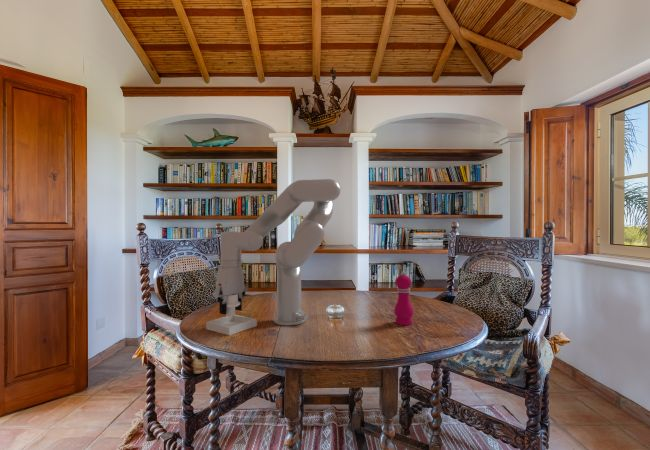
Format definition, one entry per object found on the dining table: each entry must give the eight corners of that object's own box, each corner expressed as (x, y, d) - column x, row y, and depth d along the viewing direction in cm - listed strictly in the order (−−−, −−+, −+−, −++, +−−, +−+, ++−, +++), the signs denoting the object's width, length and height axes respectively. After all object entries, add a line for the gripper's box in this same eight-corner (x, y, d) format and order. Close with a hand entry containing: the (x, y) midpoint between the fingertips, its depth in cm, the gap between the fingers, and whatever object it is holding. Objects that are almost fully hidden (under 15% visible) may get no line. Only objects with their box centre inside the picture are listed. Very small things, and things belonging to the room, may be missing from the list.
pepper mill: (415, 321, 133) (414, 270, 133) (411, 326, 126) (411, 272, 126) (396, 319, 136) (396, 269, 136) (392, 324, 129) (391, 272, 129)
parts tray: (256, 325, 129) (256, 319, 129) (229, 335, 118) (229, 327, 118) (233, 320, 137) (233, 314, 137) (206, 329, 126) (206, 322, 126)
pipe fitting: (230, 318, 123) (230, 296, 123) (217, 316, 127) (217, 294, 127) (243, 314, 128) (243, 293, 128) (230, 312, 132) (230, 291, 132)
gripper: (241, 261, 137) (241, 306, 137) (205, 265, 123) (204, 315, 122) (255, 262, 133) (254, 308, 132) (218, 267, 118) (218, 318, 118)
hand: (230, 311), depth 127 cm, fingers closed on pipe fitting, 6 cm apart
